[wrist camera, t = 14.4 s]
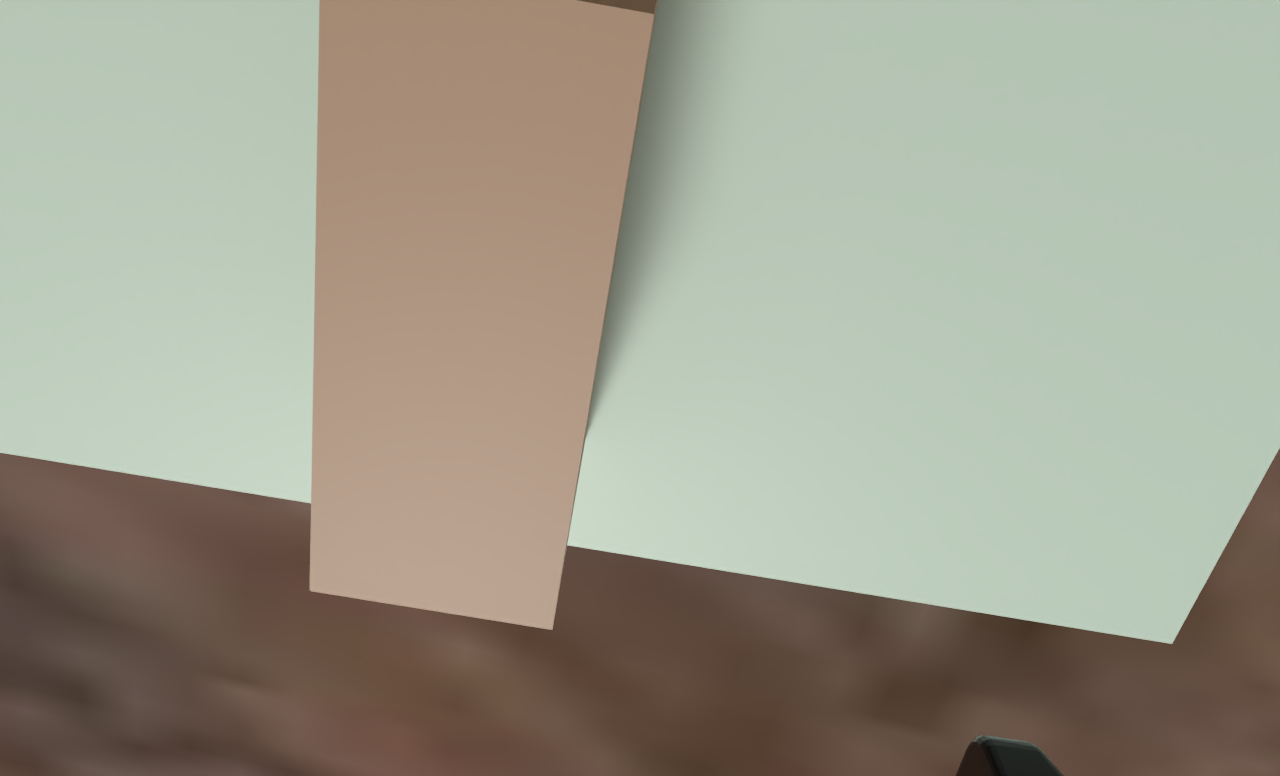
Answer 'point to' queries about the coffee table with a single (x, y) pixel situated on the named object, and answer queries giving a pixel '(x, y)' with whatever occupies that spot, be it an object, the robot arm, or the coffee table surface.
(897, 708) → the coffee table surface
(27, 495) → the coffee table surface
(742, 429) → the lid
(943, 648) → the coffee table surface
